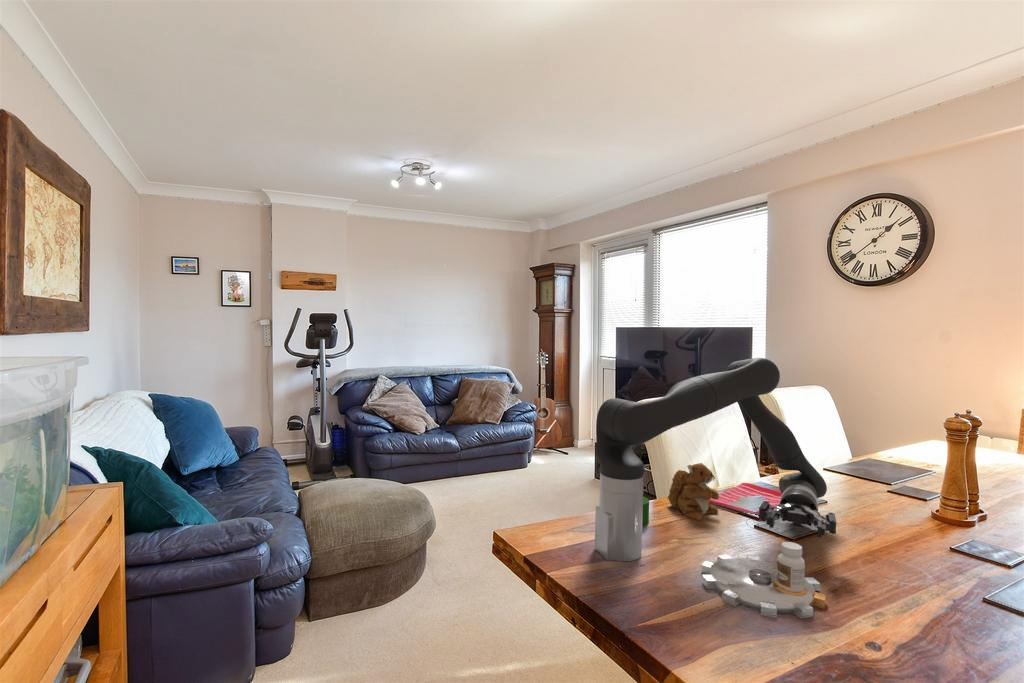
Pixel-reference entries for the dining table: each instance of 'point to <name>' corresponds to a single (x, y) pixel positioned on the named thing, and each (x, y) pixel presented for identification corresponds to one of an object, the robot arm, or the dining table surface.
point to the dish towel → (745, 491)
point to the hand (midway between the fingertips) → (795, 527)
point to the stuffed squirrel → (693, 491)
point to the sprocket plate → (759, 587)
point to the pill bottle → (790, 567)
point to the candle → (645, 511)
